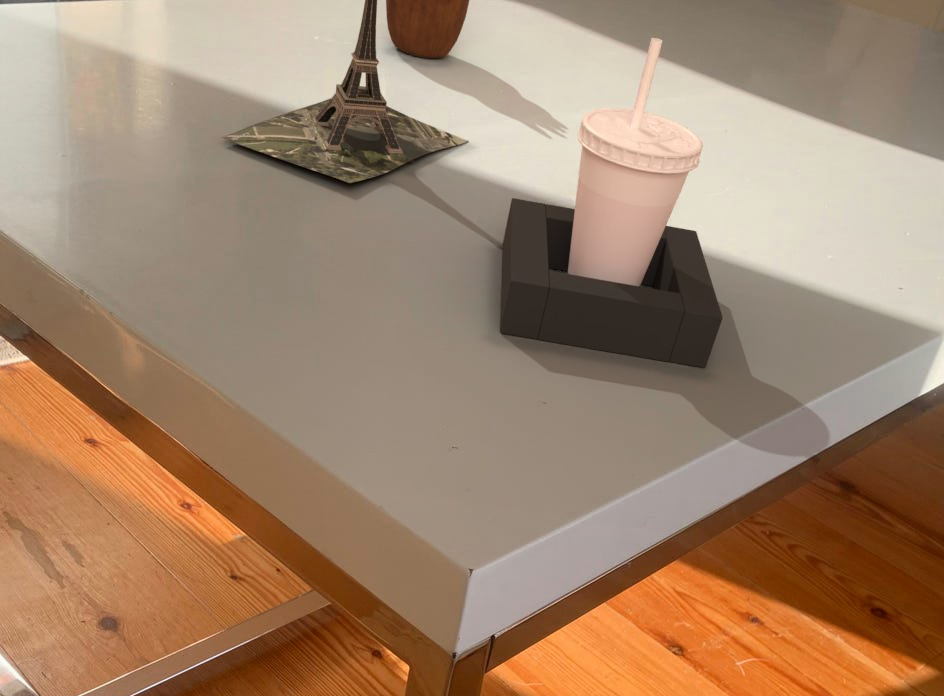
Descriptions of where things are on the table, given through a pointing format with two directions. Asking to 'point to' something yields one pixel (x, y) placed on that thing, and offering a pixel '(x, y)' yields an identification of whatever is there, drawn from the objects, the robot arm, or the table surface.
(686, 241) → the dark square frame
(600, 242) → the smoothie
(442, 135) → the eiffel tower figurine
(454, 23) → the wooden figurine
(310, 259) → the table surface
